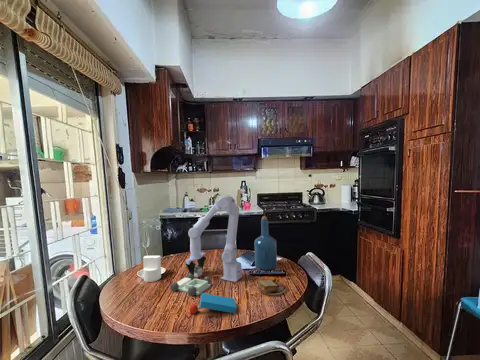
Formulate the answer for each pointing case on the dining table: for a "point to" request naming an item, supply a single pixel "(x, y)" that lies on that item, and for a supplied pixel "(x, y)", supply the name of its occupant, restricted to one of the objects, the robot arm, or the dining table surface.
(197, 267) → the grey boxy piece
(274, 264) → the wine bottle
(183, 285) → the chassis
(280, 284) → the toy sandwich meal
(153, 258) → the cylinder with rectangular tab
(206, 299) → the lever
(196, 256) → the robot arm
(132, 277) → the dining table surface
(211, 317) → the dining table surface
